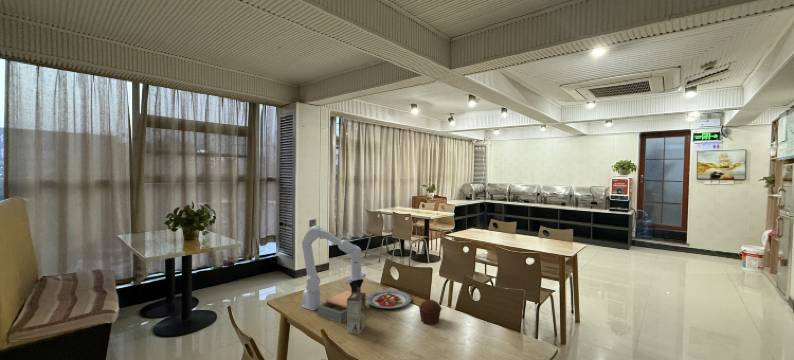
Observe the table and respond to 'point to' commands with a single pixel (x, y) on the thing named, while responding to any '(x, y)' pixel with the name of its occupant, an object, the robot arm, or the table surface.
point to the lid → (343, 298)
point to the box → (332, 312)
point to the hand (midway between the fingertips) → (356, 293)
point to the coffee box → (356, 312)
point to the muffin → (430, 312)
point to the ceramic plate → (388, 299)
